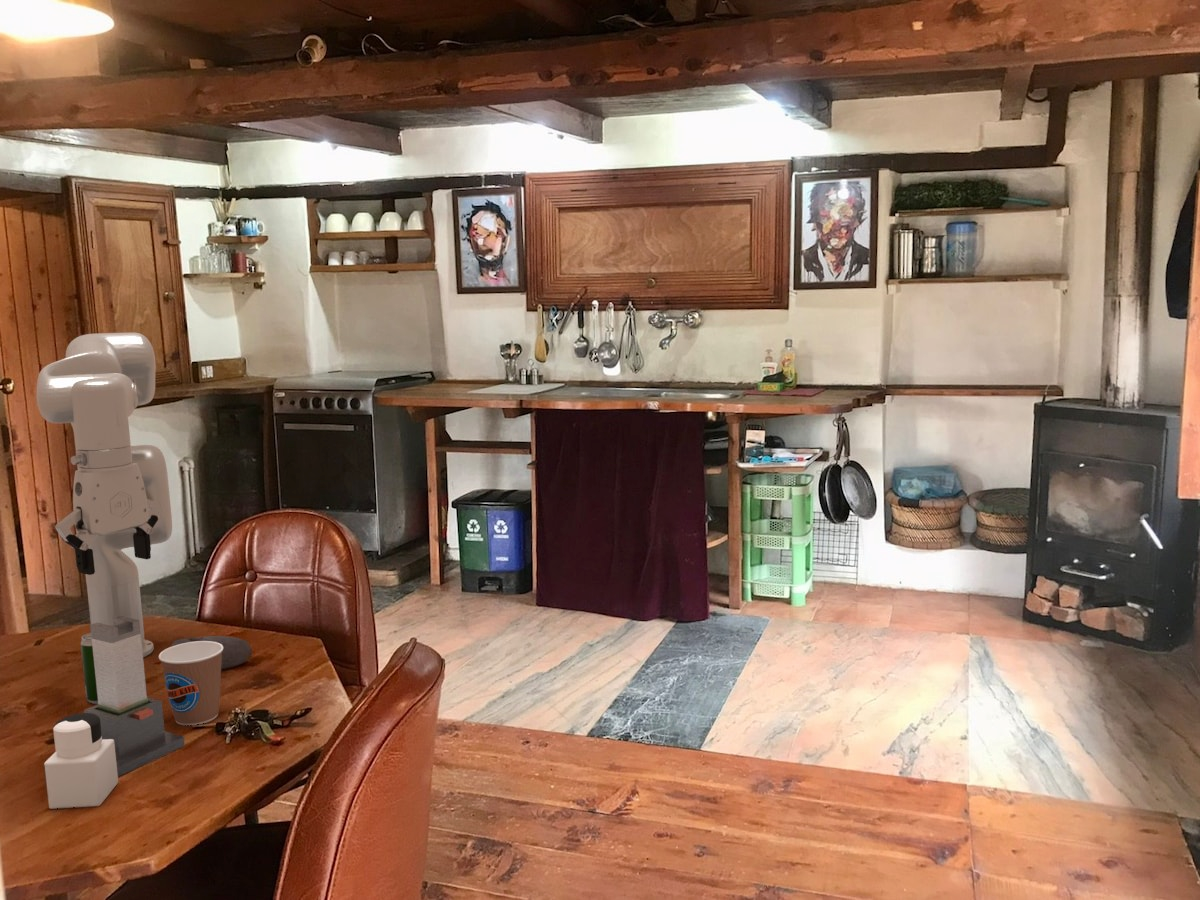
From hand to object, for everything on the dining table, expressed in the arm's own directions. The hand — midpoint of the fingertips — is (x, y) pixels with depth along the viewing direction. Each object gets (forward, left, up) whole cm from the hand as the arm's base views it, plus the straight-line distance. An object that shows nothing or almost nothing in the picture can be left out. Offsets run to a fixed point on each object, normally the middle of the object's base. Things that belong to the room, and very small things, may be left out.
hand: (115, 565), depth 159 cm
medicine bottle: (+9, -14, -30) cm, 35 cm away
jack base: (+2, -2, -30) cm, 30 cm away
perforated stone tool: (-16, +29, -30) cm, 45 cm away
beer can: (-22, +10, -30) cm, 39 cm away
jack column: (+2, -2, -24) cm, 24 cm away
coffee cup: (0, +12, -30) cm, 33 cm away
